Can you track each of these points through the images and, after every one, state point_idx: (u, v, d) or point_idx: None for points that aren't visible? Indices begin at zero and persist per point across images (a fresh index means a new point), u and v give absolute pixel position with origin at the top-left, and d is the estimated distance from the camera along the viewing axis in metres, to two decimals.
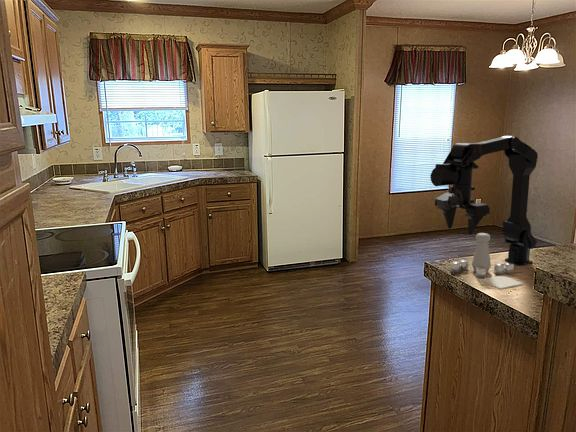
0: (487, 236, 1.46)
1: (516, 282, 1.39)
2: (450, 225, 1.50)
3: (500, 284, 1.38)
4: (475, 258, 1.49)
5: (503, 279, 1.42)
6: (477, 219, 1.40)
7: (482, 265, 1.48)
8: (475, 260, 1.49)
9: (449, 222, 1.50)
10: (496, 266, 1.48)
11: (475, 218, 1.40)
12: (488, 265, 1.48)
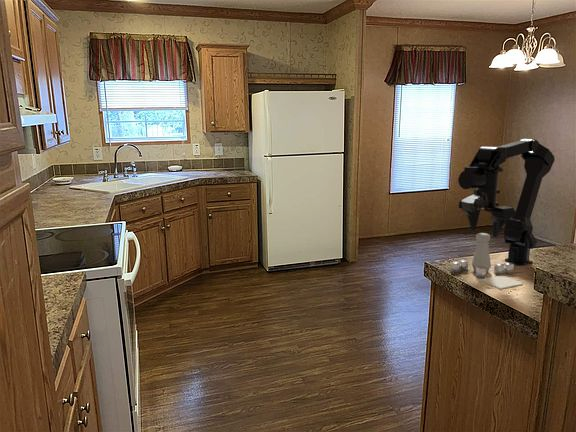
0: (487, 236, 1.46)
1: (516, 282, 1.39)
2: (474, 228, 1.52)
3: (500, 284, 1.38)
4: (475, 258, 1.49)
5: (503, 279, 1.42)
6: (502, 222, 1.42)
7: (482, 265, 1.48)
8: (475, 260, 1.49)
9: (473, 225, 1.52)
10: (496, 266, 1.48)
11: (500, 221, 1.42)
12: (488, 265, 1.48)
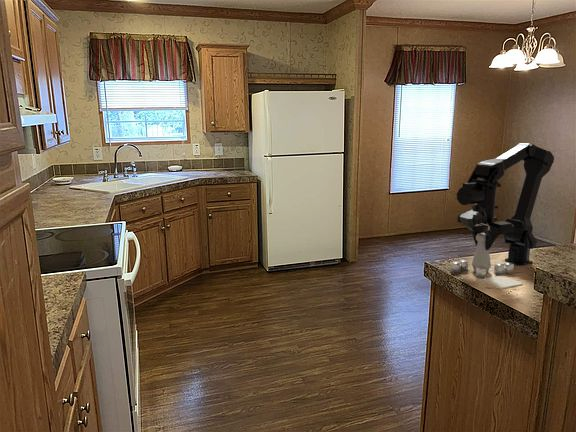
0: None
1: (516, 282, 1.39)
2: None
3: (500, 284, 1.38)
4: (475, 258, 1.49)
5: (503, 279, 1.42)
6: (494, 235, 1.45)
7: (482, 265, 1.48)
8: (475, 260, 1.49)
9: (477, 241, 1.50)
10: (496, 266, 1.48)
11: (492, 234, 1.45)
12: (488, 265, 1.48)
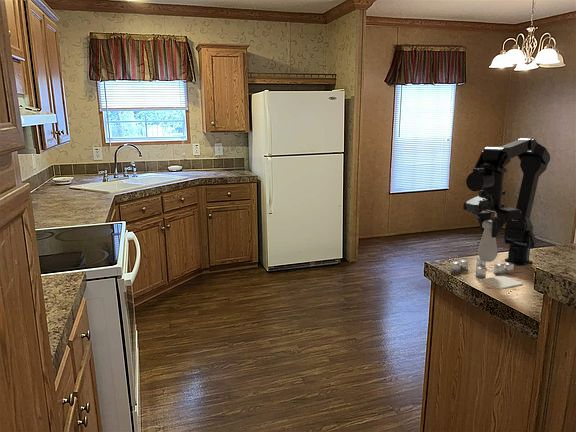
0: None
1: (516, 282, 1.39)
2: None
3: (500, 284, 1.38)
4: (481, 246, 1.45)
5: (503, 279, 1.42)
6: (501, 222, 1.41)
7: (488, 253, 1.44)
8: (481, 248, 1.45)
9: None
10: (496, 266, 1.48)
11: (499, 221, 1.41)
12: (495, 253, 1.44)
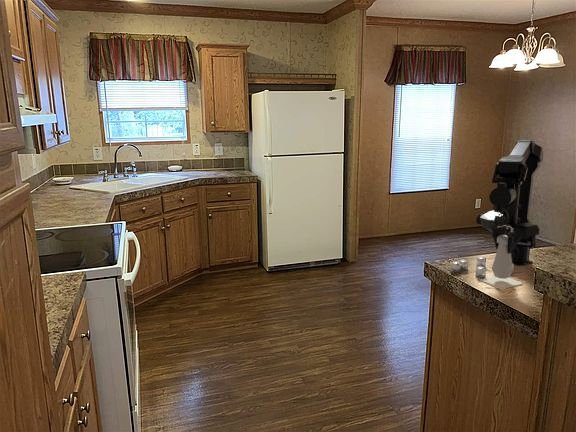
0: None
1: (516, 282, 1.39)
2: None
3: (500, 284, 1.38)
4: (496, 262, 1.39)
5: (503, 279, 1.42)
6: (517, 237, 1.35)
7: (504, 270, 1.37)
8: (496, 264, 1.39)
9: (498, 243, 1.40)
10: None
11: (515, 236, 1.35)
12: (510, 270, 1.37)
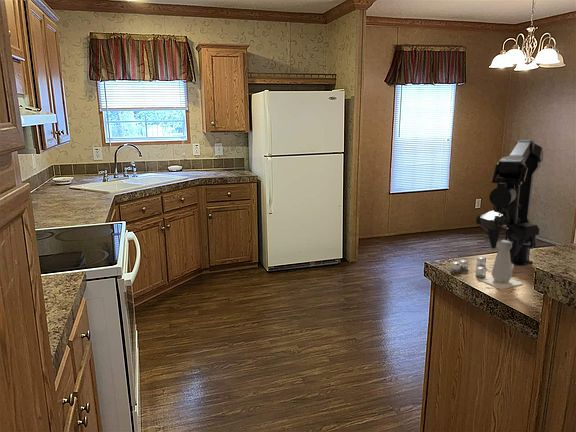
0: (509, 243, 1.36)
1: (516, 282, 1.39)
2: (494, 245, 1.42)
3: (500, 284, 1.38)
4: (495, 267, 1.39)
5: None
6: (523, 239, 1.33)
7: (503, 275, 1.37)
8: (495, 269, 1.39)
9: (493, 242, 1.41)
10: None
11: (521, 238, 1.33)
12: (509, 275, 1.38)
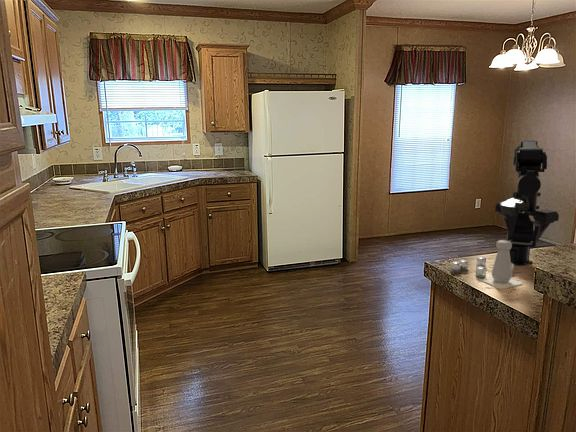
0: (508, 244, 1.36)
1: (516, 282, 1.39)
2: (511, 231, 1.46)
3: (500, 284, 1.38)
4: (495, 267, 1.39)
5: None
6: (544, 226, 1.36)
7: (503, 275, 1.37)
8: (495, 269, 1.39)
9: (510, 228, 1.46)
10: None
11: (542, 225, 1.36)
12: (509, 275, 1.38)
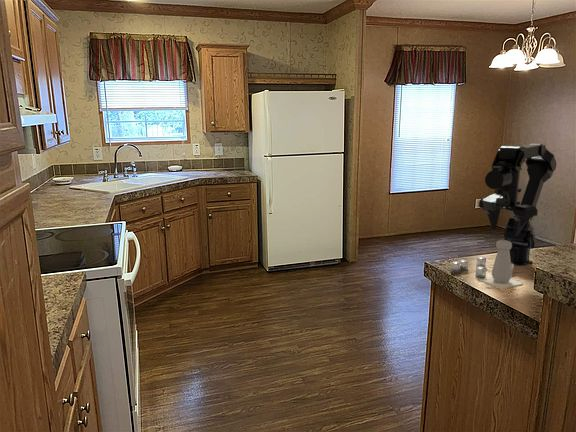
0: (508, 244, 1.36)
1: (516, 282, 1.39)
2: (494, 226, 1.53)
3: (500, 284, 1.38)
4: (495, 267, 1.39)
5: None
6: (524, 220, 1.43)
7: (503, 275, 1.37)
8: (495, 269, 1.39)
9: (493, 223, 1.52)
10: None
11: (522, 219, 1.42)
12: (509, 275, 1.38)
